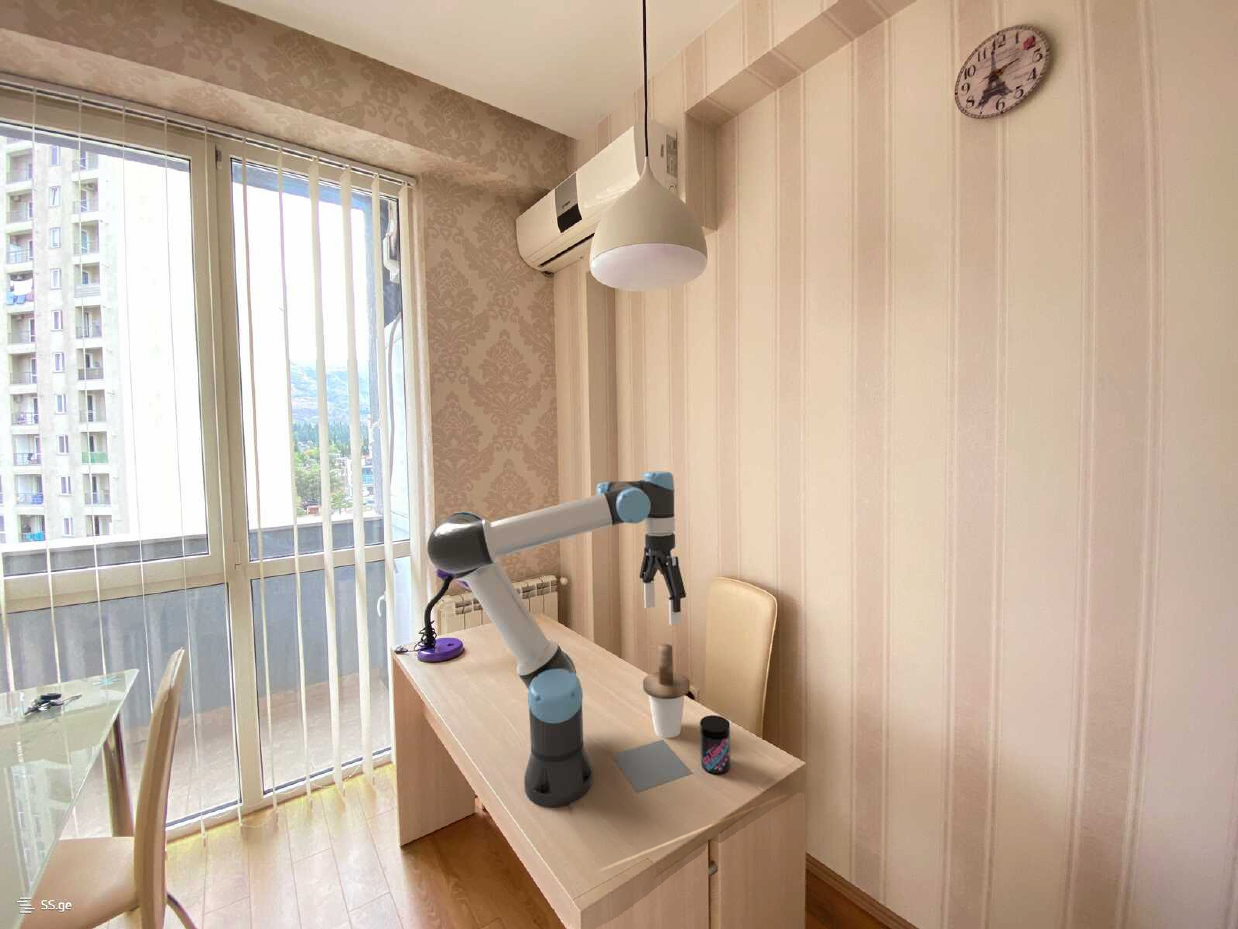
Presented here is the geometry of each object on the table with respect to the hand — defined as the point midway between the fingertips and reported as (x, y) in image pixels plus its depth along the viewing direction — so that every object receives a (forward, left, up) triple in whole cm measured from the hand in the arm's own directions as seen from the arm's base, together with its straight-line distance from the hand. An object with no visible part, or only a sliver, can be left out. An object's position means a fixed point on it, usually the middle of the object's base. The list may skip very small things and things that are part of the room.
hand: (661, 615), depth 129 cm
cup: (+1, 0, -31) cm, 31 cm away
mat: (-9, -10, -31) cm, 34 cm away
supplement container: (+4, -17, -31) cm, 36 cm away
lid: (+1, 0, -19) cm, 19 cm away
